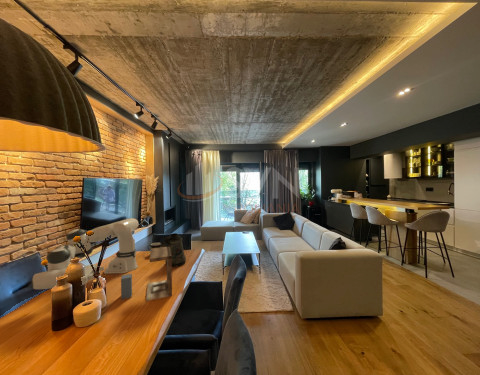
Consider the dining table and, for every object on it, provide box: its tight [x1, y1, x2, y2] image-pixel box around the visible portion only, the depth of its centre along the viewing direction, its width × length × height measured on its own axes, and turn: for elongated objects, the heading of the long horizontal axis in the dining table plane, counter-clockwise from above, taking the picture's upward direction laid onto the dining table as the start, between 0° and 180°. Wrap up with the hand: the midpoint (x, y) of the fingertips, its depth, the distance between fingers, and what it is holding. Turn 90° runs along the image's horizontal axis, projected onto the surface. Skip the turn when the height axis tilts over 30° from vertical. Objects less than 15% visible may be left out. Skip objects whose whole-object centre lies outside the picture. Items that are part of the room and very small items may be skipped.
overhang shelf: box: [145, 246, 173, 302], centre depth 127 cm, size 14×20×24 cm
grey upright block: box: [120, 273, 133, 300], centre depth 120 cm, size 5×5×12 cm
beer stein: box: [161, 232, 187, 268], centre depth 169 cm, size 16×19×25 cm
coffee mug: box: [147, 242, 162, 251], centre depth 193 cm, size 12×9×10 cm
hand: (101, 271), depth 115 cm, fingers open, 8 cm apart
